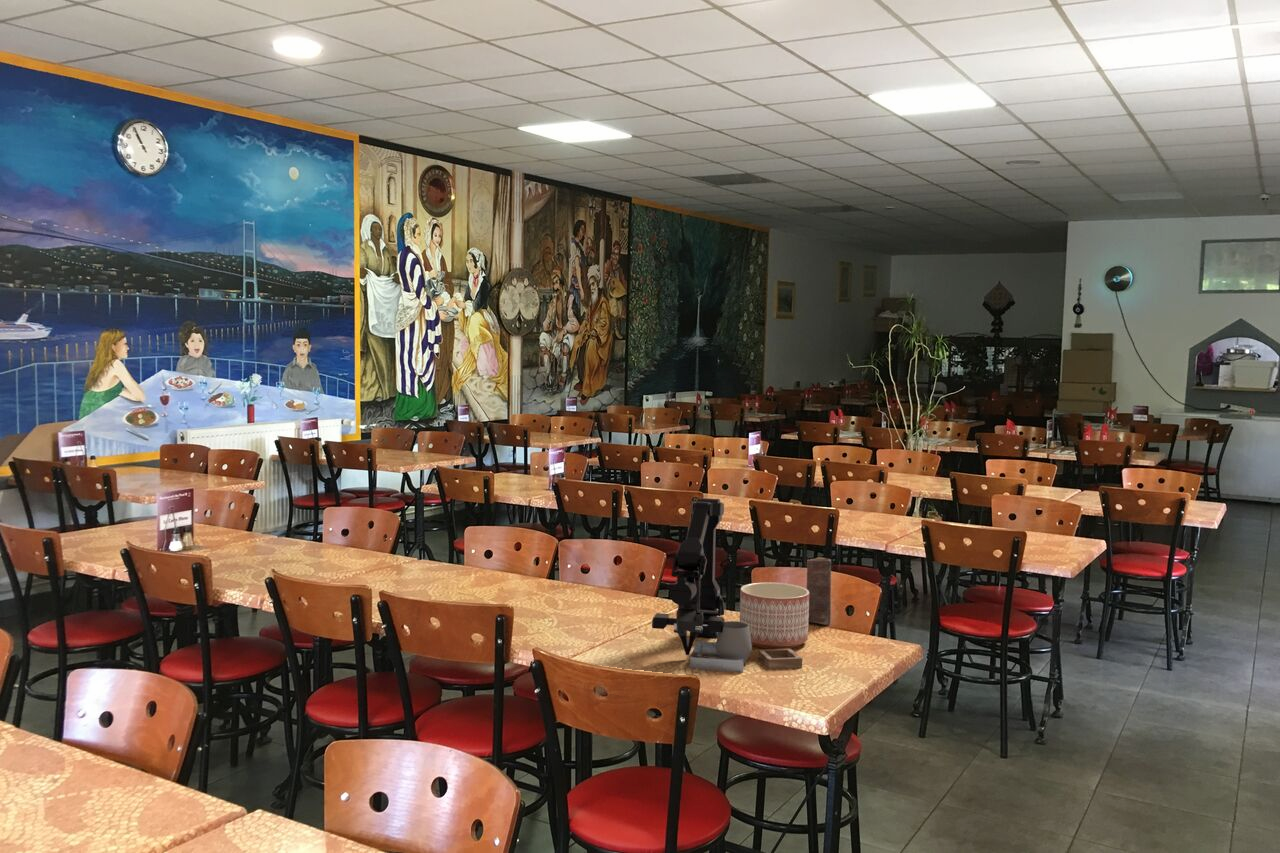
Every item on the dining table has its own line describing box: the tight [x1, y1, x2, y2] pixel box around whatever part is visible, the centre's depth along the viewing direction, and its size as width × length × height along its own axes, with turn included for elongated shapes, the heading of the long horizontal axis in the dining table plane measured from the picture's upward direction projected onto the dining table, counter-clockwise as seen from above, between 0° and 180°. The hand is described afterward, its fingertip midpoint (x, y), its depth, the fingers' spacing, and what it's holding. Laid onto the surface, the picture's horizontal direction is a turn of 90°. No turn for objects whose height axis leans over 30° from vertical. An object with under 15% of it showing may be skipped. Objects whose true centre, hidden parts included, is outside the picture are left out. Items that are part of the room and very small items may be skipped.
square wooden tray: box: [757, 648, 803, 670], centre depth 260 cm, size 9×9×2 cm
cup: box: [715, 620, 753, 664], centre depth 260 cm, size 10×9×10 cm
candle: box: [806, 556, 832, 626], centre depth 300 cm, size 8×7×20 cm
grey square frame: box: [689, 640, 745, 673], centre depth 260 cm, size 14×15×3 cm
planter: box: [739, 582, 809, 649], centre depth 280 cm, size 19×19×15 cm
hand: (687, 654), depth 262 cm, fingers closed
